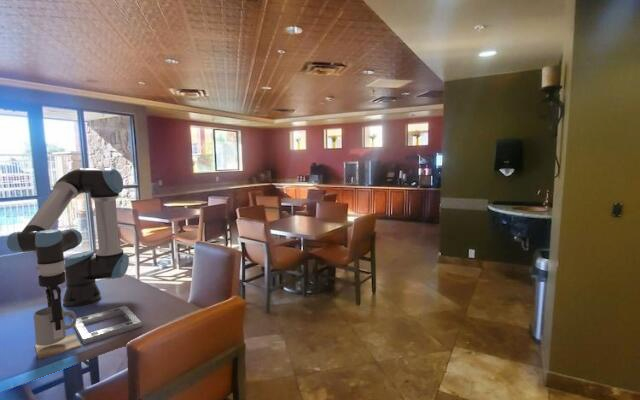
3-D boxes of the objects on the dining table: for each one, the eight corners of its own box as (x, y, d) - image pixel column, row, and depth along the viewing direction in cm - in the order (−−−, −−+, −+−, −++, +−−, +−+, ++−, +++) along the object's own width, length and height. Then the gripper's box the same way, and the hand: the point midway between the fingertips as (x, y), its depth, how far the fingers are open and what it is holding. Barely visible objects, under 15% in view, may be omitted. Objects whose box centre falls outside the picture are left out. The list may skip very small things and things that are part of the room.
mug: (34, 348, 116) (32, 318, 115) (36, 338, 123) (34, 309, 122) (77, 338, 124) (75, 309, 122) (77, 329, 130) (75, 301, 129)
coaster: (34, 346, 124) (34, 344, 124) (74, 334, 132) (74, 333, 132) (38, 359, 116) (38, 358, 115) (80, 346, 124) (80, 344, 124)
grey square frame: (72, 324, 141) (72, 319, 141) (125, 309, 155) (125, 305, 155) (83, 344, 125) (83, 339, 125) (141, 326, 139) (141, 321, 139)
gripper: (35, 268, 126) (40, 326, 128) (41, 283, 111) (47, 348, 113) (60, 264, 131) (64, 320, 133) (69, 277, 116) (74, 340, 118)
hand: (56, 333), depth 123 cm, fingers closed on mug, 8 cm apart
